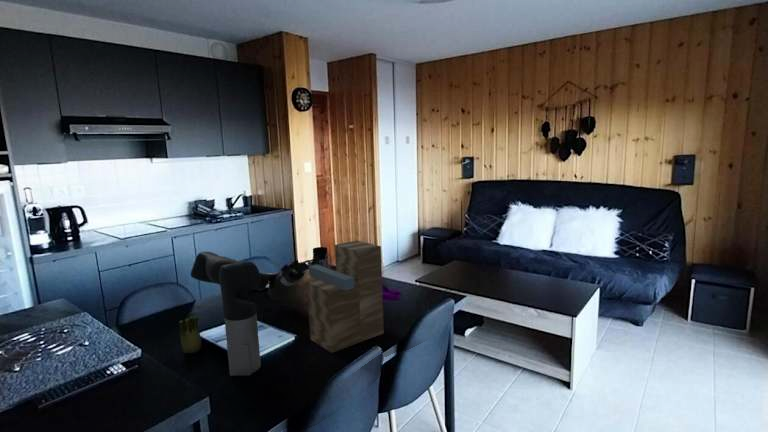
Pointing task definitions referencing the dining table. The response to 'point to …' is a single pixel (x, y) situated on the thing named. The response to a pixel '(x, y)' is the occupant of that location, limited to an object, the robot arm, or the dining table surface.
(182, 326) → the fennel bulb
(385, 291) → the cloth
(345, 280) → the blue-gray bar
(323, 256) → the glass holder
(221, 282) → the robot arm
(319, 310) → the plinth
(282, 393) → the dining table surface
